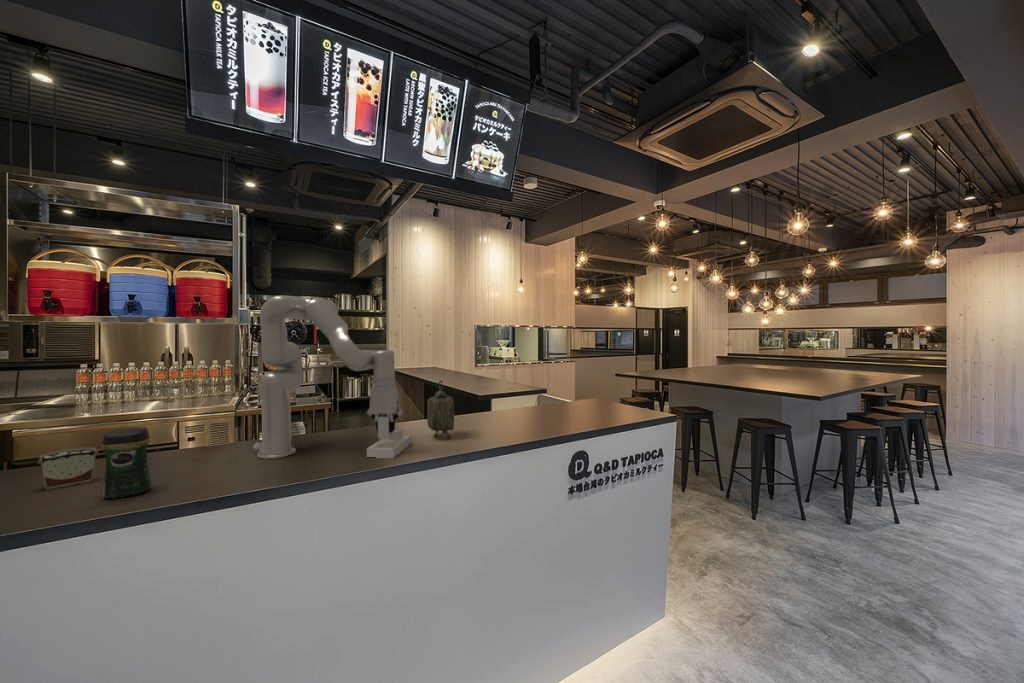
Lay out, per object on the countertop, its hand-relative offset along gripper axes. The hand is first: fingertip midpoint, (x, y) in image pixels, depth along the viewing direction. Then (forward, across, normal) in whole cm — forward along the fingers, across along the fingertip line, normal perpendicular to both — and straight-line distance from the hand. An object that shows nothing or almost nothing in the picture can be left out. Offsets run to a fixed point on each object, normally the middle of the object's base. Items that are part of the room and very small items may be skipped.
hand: (385, 431), depth 153 cm
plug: (+2, 0, 0) cm, 2 cm away
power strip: (+9, 0, +6) cm, 10 cm away
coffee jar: (+8, -58, -42) cm, 73 cm away
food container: (+8, -84, -36) cm, 92 cm away
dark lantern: (+9, +14, +28) cm, 32 cm away
